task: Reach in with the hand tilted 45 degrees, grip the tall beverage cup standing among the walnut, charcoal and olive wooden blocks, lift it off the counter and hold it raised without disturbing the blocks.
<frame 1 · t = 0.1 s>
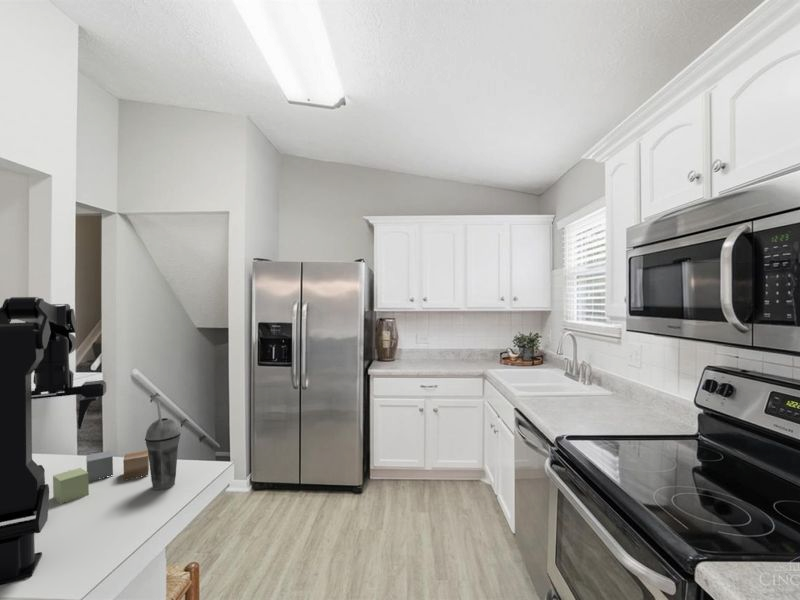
hand: (53, 432, 91), 15 cm above the table, tool pointing down, fingers open, 9 cm apart
beverage cup: (163, 486, 96), on the table
walnut block: (136, 474, 103), on the table
olive block: (71, 496, 92), on the table
charcoal block: (99, 475, 103), on the table
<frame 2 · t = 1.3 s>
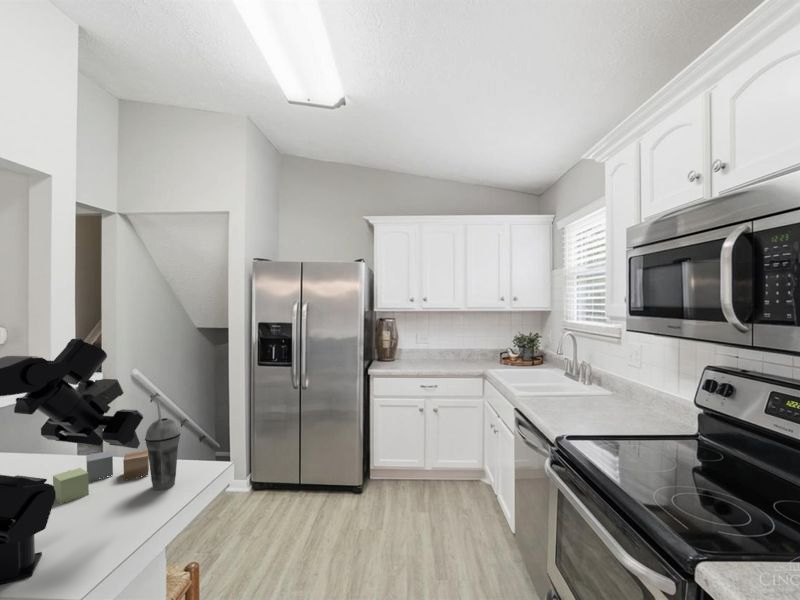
hand: (119, 444, 85), 14 cm above the table, tool tilted 45°, fingers open, 9 cm apart
nothing on the table moved.
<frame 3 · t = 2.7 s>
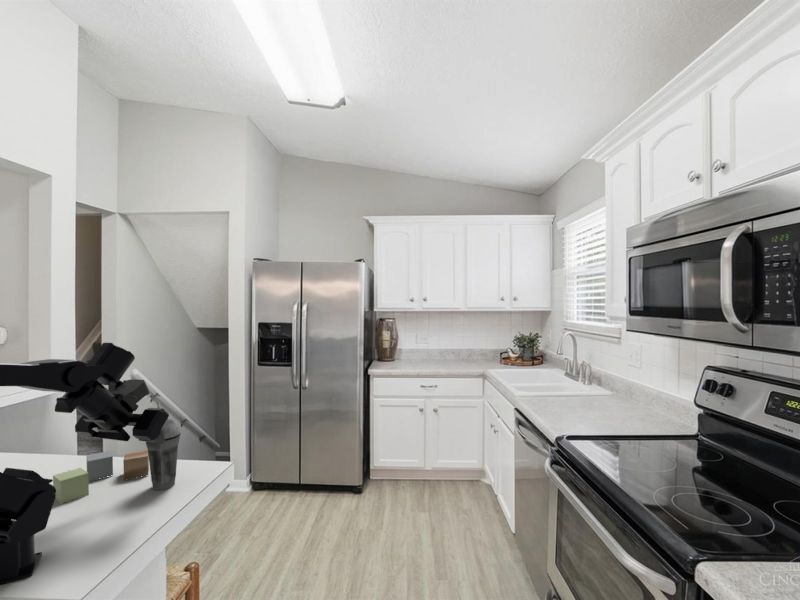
hand: (145, 440, 92), 12 cm above the table, tool tilted 45°, fingers open, 9 cm apart
nothing on the table moved.
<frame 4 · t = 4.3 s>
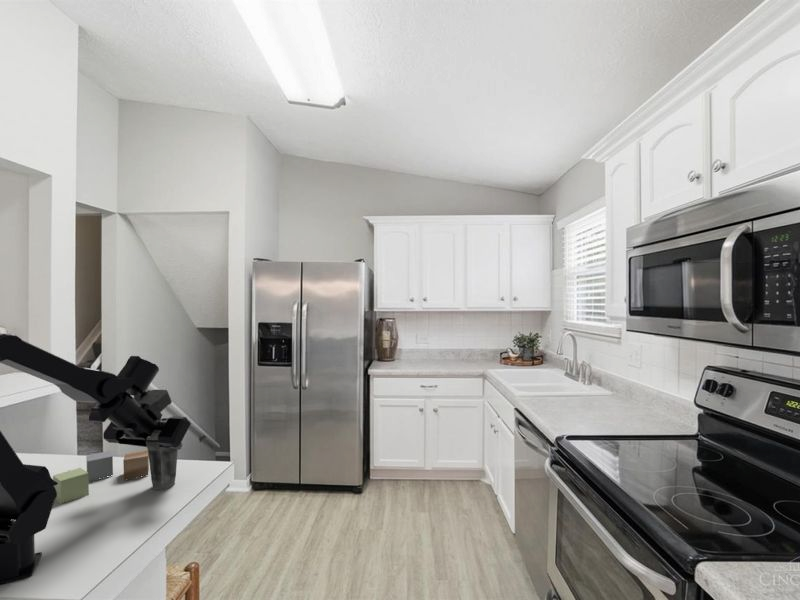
hand: (167, 446, 98), 9 cm above the table, tool tilted 45°, fingers closed on beverage cup, 7 cm apart
beverage cup: (164, 486, 96), on the table, touching gripper
everything else where it was.
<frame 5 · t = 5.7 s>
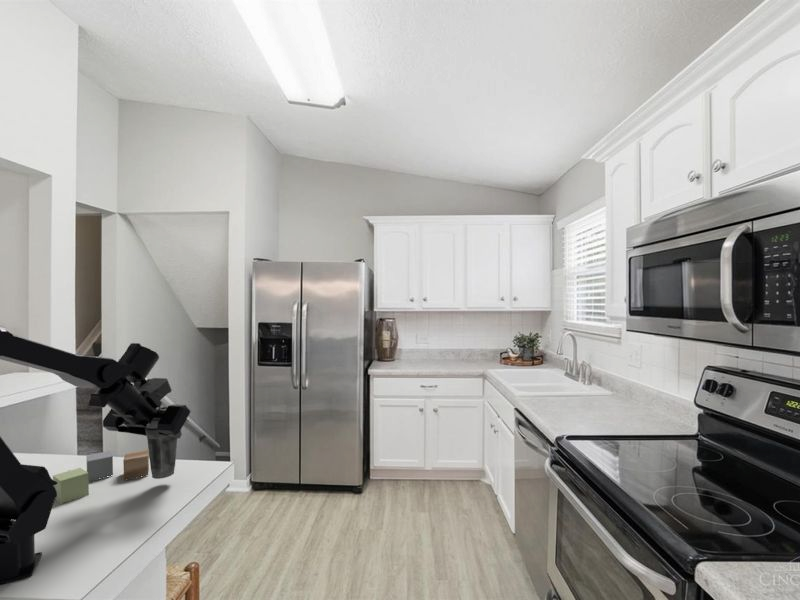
hand: (167, 435, 98), 11 cm above the table, tool tilted 45°, fingers closed on beverage cup, 7 cm apart
beverage cup: (163, 475, 96), point 2 cm above the table, touching gripper
everything else where it was.
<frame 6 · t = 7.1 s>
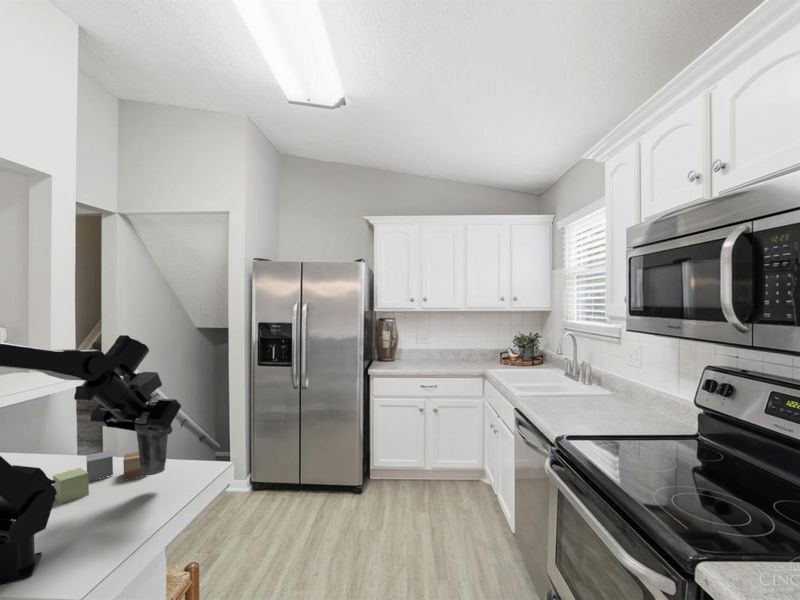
hand: (157, 431, 95), 13 cm above the table, tool tilted 45°, fingers closed on beverage cup, 7 cm apart
beverage cup: (153, 472, 93), point 4 cm above the table, touching gripper
everything else where it was.
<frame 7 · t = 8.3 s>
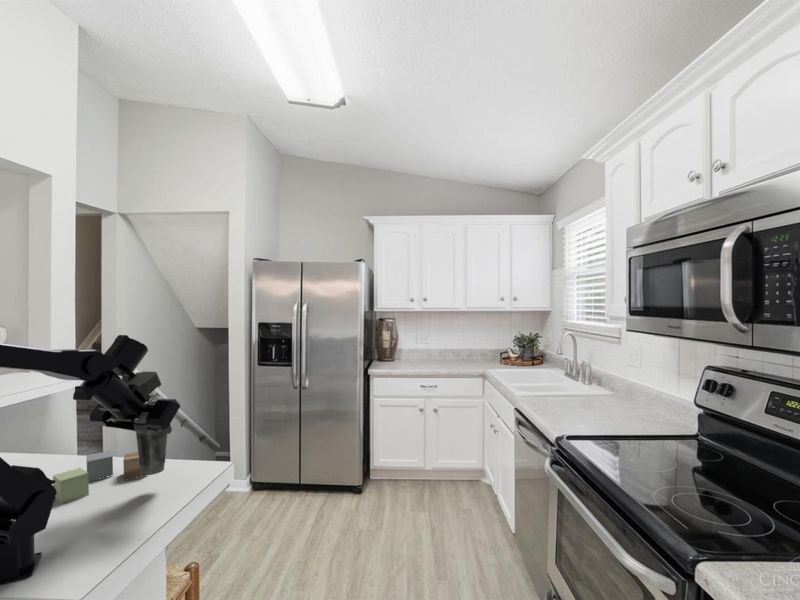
hand: (157, 431, 95), 13 cm above the table, tool tilted 45°, fingers closed on beverage cup, 7 cm apart
beverage cup: (152, 471, 93), point 4 cm above the table, touching gripper
everything else where it was.
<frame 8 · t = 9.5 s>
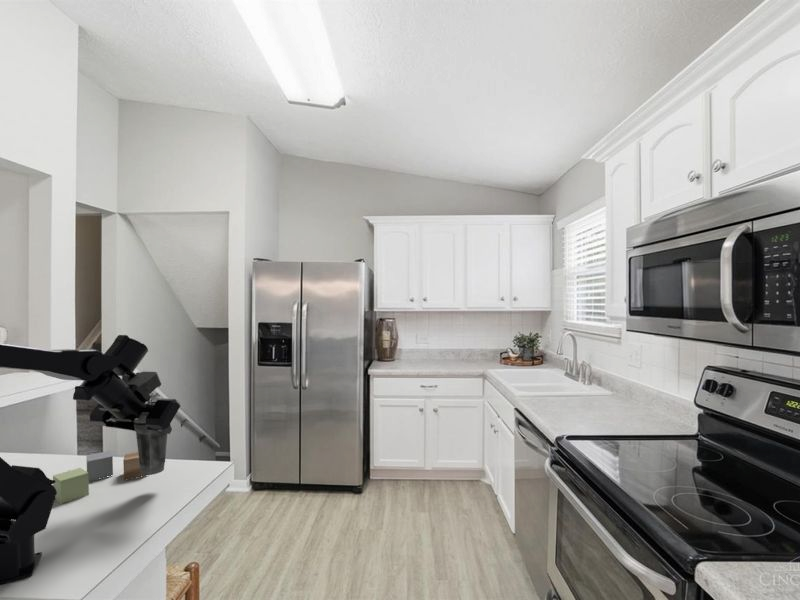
hand: (157, 431, 95), 13 cm above the table, tool tilted 45°, fingers closed on beverage cup, 7 cm apart
beverage cup: (152, 471, 93), point 4 cm above the table, touching gripper
everything else where it was.
at the end: the gripper is holding beverage cup; beverage cup point 4.5 cm above the table; walnut block moved 0.1 cm from its start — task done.
